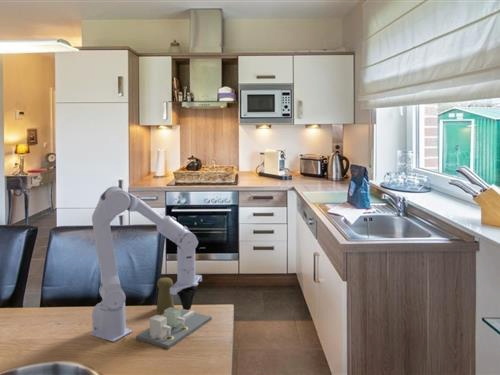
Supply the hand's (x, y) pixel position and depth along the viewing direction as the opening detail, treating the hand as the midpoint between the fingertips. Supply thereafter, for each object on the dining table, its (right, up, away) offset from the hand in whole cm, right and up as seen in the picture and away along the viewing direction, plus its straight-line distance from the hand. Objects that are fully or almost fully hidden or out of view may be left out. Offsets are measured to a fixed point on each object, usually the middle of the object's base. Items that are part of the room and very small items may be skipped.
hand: (186, 309), depth 146 cm
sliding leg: (-2, -3, -7) cm, 8 cm away
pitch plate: (-3, -5, -5) cm, 8 cm away
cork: (-8, -3, +9) cm, 13 cm away
